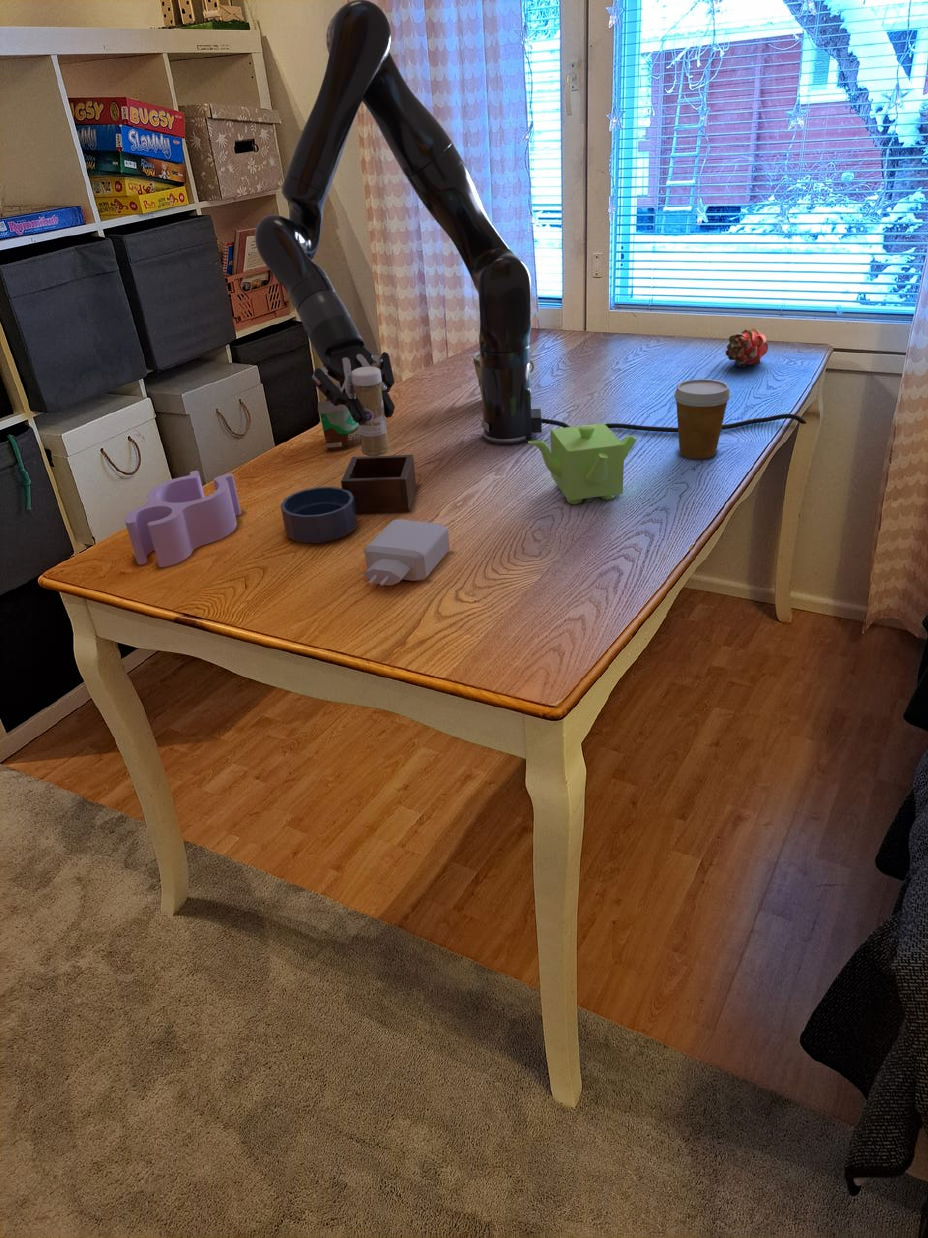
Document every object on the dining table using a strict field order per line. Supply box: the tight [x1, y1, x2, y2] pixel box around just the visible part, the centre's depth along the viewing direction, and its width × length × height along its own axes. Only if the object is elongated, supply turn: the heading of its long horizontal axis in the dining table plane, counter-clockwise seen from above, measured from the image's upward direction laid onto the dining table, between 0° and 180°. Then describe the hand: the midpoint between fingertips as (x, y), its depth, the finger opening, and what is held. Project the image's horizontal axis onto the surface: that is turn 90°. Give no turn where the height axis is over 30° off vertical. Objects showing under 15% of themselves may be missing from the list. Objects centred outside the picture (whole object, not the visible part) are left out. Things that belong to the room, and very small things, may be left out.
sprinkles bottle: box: [351, 366, 390, 456], centre depth 140 cm, size 5×5×13 cm
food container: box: [317, 383, 361, 452], centre depth 170 cm, size 12×6×10 cm, turn 168°
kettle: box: [527, 422, 638, 505], centre depth 142 cm, size 15×14×11 cm
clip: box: [124, 470, 242, 568], centre depth 139 cm, size 20×12×7 cm, turn 161°
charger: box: [363, 518, 451, 587], centre depth 124 cm, size 5×9×15 cm
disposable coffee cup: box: [673, 378, 732, 460], centre depth 153 cm, size 10×10×12 cm
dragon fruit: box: [725, 328, 769, 368], centre depth 198 cm, size 8×8×12 cm
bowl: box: [280, 486, 358, 544], centre depth 138 cm, size 11×11×5 cm
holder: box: [340, 454, 417, 515], centre depth 146 cm, size 10×10×6 cm
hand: (377, 418), depth 139 cm, fingers closed on sprinkles bottle, 4 cm apart
